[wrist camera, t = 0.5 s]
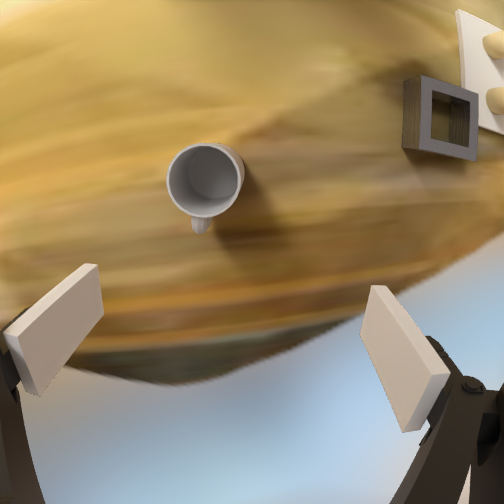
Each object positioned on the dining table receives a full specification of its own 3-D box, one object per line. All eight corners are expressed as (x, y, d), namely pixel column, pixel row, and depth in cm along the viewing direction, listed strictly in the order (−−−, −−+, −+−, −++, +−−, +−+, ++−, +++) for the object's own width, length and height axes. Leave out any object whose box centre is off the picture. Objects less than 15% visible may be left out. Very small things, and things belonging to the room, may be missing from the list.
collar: (404, 81, 33) (421, 75, 28) (458, 96, 33) (478, 93, 28) (401, 147, 36) (418, 148, 31) (455, 158, 36) (476, 161, 31)
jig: (454, 11, 28) (478, -2, 22) (509, 38, 28) (534, 31, 22) (460, 121, 34) (489, 120, 28) (514, 139, 34) (542, 142, 28)
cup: (250, 148, 37) (247, 149, 29) (235, 227, 40) (228, 250, 32) (191, 138, 37) (172, 138, 28) (179, 217, 40) (158, 237, 32)
